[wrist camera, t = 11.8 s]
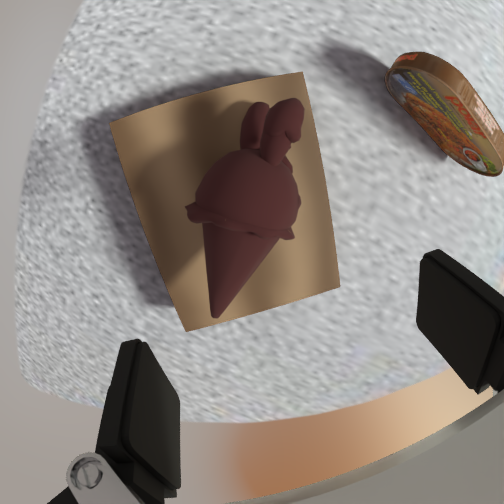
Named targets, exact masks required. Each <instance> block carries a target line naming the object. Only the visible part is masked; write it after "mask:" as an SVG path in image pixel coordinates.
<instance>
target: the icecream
mask: <svg viewBox="0 0 504 504" xmlns="http://www.w3.org/2000/svg"><path fill="white" fill-rule="evenodd" d="M304 112H305V108H304V107H303V105H302V103H301V101H300V100H299V99H297V98H289V99H286V100H282V101H279V102H277V103H276V104H275V105H274V106H272V107H271V108H269V105H268V104H267V103H264V102H255V103H254V104H253V105H251V106H250V107H249V109H248V111H247V113H246V115H245V117H244V119H243V121H242V123H241V133H240V150H237V151H232V152H229V153H228V154H226V155H225V156H223V157H222V158H220V159H219V160H217V161H216V162H215V163H214V164H213V165H212V166H211V168H210V169H209V170H208V171H207V172H206V174H205V175H204V177H203V179H202V181H201V183H200V185H199V186H198V188H197V190H196V192H195V202H193V203H191V204H189V205H187V206H185V208H186V210H187V217H188V219H189V220H190V221H191V222H193V223H196V224H198V223H202V227H203V239H204V250H205V261H206V272H207V282H208V292H209V304H210V312H211V317H212V318H216V319H217V318H219V317H220V316H221V314H222V313H223V312H224V311H225V309H226V308H227V307H228V306H229V304H230V303H231V302H232V300H233V299H234V298H235V296H236V295H237V294H238V293H239V291H240V290H241V289H242V287H243V286H244V285H245V283H246V282H247V281H248V280H249V278H250V277H251V276H252V274H253V273H254V272H255V270H256V269H257V268H258V266H259V265H260V264H261V263H262V261H263V260H264V259H265V257H266V256H267V255H268V253H269V252H270V251H271V249H272V248H273V247H274V246H275V244H276V243H277V242H278V240H279V239H280V238H281V239H284V240H292V239H294V238H295V236H294V233H293V231H292V228H291V226H292V225H293V224H294V223H295V221H296V218H297V214H298V209H299V208H300V206H301V197H300V195H299V193H298V186H297V183H296V181H295V179H294V177H293V175H292V173H293V166H292V165H291V163H290V162H289V160H288V158H287V157H286V153H287V152H288V150H289V149H290V148H291V143H295V142H297V141H299V140H300V138H301V127H302V124H303V120H304Z"/></svg>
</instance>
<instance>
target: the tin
mask: <svg viewBox="0 0 504 504" xmlns="http://www.w3.org/2000/svg"><path fill="white" fill-rule="evenodd" d="M385 84H386V87H387V89H388V91H389V92H390V94H391V95H392V97H393V98H394V99H395V100H396V101H397V102H398V103H399V104H400V105H401V106H402V107H403V108H404V109H405V110H406V111H407V112H408V113H409V114H410V115H411V116H412V117H413V118H414V119H415V120H416V121H417V122H418V124H419V125H420V126H421V127H422V128H423V129H424V130H425V131H426V132H427V133H428V134H429V136H430V137H431V138H432V139H433V140H434V141H435V142H436V143H437V145H438V146H439V147H440V148H441V149H442V150H443V151H444V152H445V153H446V154H447V155H448V156H450V157H451V158H452V159H453V160H455V161H456V162H457V163H459V164H460V165H462V166H464V167H466V168H467V169H469V170H471V171H473V172H476V173H478V174H481V175H485V176H490V177H495V176H498V175H500V174H501V173H502V171H503V166H504V133H503V131H502V130H501V128H500V126H499V125H498V123H497V122H496V120H495V118H494V117H493V115H492V114H491V112H490V111H489V109H488V108H487V106H486V105H485V104H484V102H483V101H482V99H481V98H480V96H479V95H478V94H477V92H476V91H475V89H474V88H473V87H472V85H471V84H470V83H469V81H468V80H467V79H466V78H465V77H464V75H463V74H462V73H461V72H460V71H459V70H457V69H456V68H455V67H454V66H452V65H451V64H450V63H448V62H446V61H445V60H443V59H441V58H439V57H437V56H435V55H432V54H429V53H425V52H409V53H405V54H402V55H400V56H399V57H398V58H397V59H396V61H395V62H394V64H393V65H392V67H391V69H390V70H388V71H387V73H386V75H385Z"/></svg>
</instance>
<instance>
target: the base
mask: <svg viewBox="0 0 504 504" xmlns="http://www.w3.org/2000/svg"><path fill="white" fill-rule="evenodd" d="M289 98H297V99H299V100H300V101H301V103H302V105H303V107H304V108H305V112H304V120H303V124H302V127H301V138H300V140H299V141H297V142H295V143H291V148H290V149H289V150H288V152H287V153H286V157H287V158H288V160H289V162H290V163H291V165H292V166H293V173H292V175H293V177H294V179H295V181H296V183H297V186H298V193H299V195H300V197H301V206H300V208H299V209H298V214H297V218H296V221H295V223H294V224H293V225H292V226H291V228H292V231H293V233H294V236H295V238H294V239H292V240H284V239H281V238H280V239H279V240H278V242H277V243H276V244H275V246H274V247H273V248H272V249H271V251H270V252H269V253H268V255H267V256H266V257H265V259H264V260H263V261H262V263H261V264H260V265H259V266H258V268H257V269H256V270H255V272H254V273H253V274H252V276H251V277H250V278H249V280H248V281H247V282H246V283H245V285H244V286H243V287H242V289H241V290H240V291H239V293H238V294H237V295H236V296H235V298H234V299H233V300H232V302H231V303H230V304H229V306H228V307H227V308H226V309H225V311H224V312H223V313H222V314H221V316H220V317H219V318H217V319H216V318H212V317H211V312H210V304H209V292H208V282H207V272H206V261H205V250H204V239H203V227H202V223H198V224H196V223H193V222H191V221H190V220H189V219H188V217H187V210H186V208H185V206H187V205H189V204H191V203H193V202H195V192H196V190H197V188H198V186H199V185H200V183H201V181H202V179H203V177H204V175H205V174H206V172H207V171H208V170H209V169H210V168H211V166H212V165H213V164H214V163H215V162H216V161H217V160H219V159H220V158H222V157H223V156H225V155H226V154H228V153H229V152H232V151H237V150H240V133H241V123H242V121H243V119H244V117H245V115H246V113H247V111H248V109H249V107H250V106H251V105H253V104H254V103H255V102H264V103H267V104H268V105H269V108H271V107H272V106H274V105H275V104H276V103H277V102H279V101H282V100H286V99H289ZM109 125H110V128H111V132H112V135H113V139H114V142H115V145H116V149H117V152H118V155H119V159H120V162H121V165H122V168H123V171H124V174H125V177H126V180H127V184H128V187H129V189H130V192H131V195H132V198H133V201H134V204H135V207H136V210H137V213H138V215H139V218H140V221H141V224H142V226H143V229H144V232H145V235H146V237H147V240H148V242H149V245H150V248H151V250H152V253H153V255H154V258H155V261H156V263H157V266H158V268H159V271H160V273H161V275H162V278H163V280H164V283H165V285H166V288H167V290H168V292H169V295H170V297H171V299H172V302H173V304H174V306H175V309H176V311H177V313H178V315H179V318H180V320H181V322H182V324H183V327H184V329H185V331H186V332H188V331H192V330H196V329H200V328H204V327H208V326H211V325H215V324H219V323H222V322H226V321H230V320H233V319H237V318H240V317H244V316H247V315H251V314H254V313H258V312H261V311H265V310H268V309H271V308H275V307H278V306H281V305H285V304H288V303H291V302H294V301H298V300H301V299H304V298H307V297H310V296H314V295H317V294H320V293H323V292H326V291H329V290H332V289H335V288H338V287H340V279H339V271H338V262H337V254H336V246H335V239H334V232H333V225H332V218H331V211H330V205H329V199H328V193H327V187H326V181H325V175H324V169H323V164H322V159H321V153H320V148H319V143H318V138H317V133H316V128H315V123H314V119H313V114H312V110H311V105H310V101H309V96H308V92H307V88H306V84H305V79H304V75H303V72H297V73H290V74H284V75H278V76H273V77H267V78H262V79H257V80H252V81H247V82H242V83H238V84H233V85H229V86H225V87H221V88H217V89H213V90H209V91H205V92H201V93H198V94H194V95H190V96H187V97H183V98H180V99H177V100H173V101H170V102H167V103H164V104H161V105H158V106H155V107H152V108H149V109H146V110H143V111H140V112H137V113H134V114H132V115H129V116H126V117H124V118H121V119H118V120H116V121H113V122H111V123H109Z"/></svg>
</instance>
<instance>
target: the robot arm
mask: <svg viewBox="0 0 504 504" xmlns="http://www.w3.org/2000/svg"><path fill="white" fill-rule="evenodd" d="M416 323H417V326H418V328H419V330H420V331H421V332H422V333H423V334H424V335H425V337H426V338H427V339H428V340H429V341H430V342H431V343H432V345H433V346H434V347H435V348H436V349H437V350H438V352H439V353H440V354H441V355H442V356H443V358H444V359H445V360H446V361H447V362H448V364H449V365H450V366H451V367H452V368H453V369H454V371H455V372H456V373H457V374H458V376H459V377H460V378H461V379H462V380H463V382H464V383H465V384H466V386H467V387H468V388H469V389H474V390H475V392H476V393H477V394H479V393H481V392H483V391H484V390H486V389H487V388H488V387H489V386H491V387H492V388H493V397H492V398H491V399H489V400H488V401H486V402H485V403H483V404H482V405H480V406H479V407H478V408H476V409H474V410H473V411H471V412H469V413H468V414H466V415H465V416H463V417H462V418H460V419H458V420H457V421H455V422H453V423H452V424H450V425H448V426H446V427H445V428H443V429H441V430H439V431H437V432H436V433H434V434H432V435H430V436H428V437H426V438H424V439H422V440H420V441H419V442H417V443H415V444H413V445H410V446H409V447H407V448H404V449H402V450H400V451H398V452H396V453H394V454H391V455H389V456H387V457H385V458H382V459H380V460H378V461H375V462H373V463H370V464H368V465H365V466H363V467H360V468H358V469H355V470H352V471H350V472H347V473H344V474H342V475H339V476H336V477H333V478H330V479H327V480H323V481H321V482H317V483H314V484H310V485H307V486H304V487H300V488H296V489H293V490H289V491H285V492H281V493H277V494H273V495H269V496H264V497H259V498H254V499H249V500H243V501H238V502H232V503H226V504H504V297H503V296H502V295H501V294H500V293H499V292H497V291H496V290H495V289H493V288H492V287H491V286H490V285H488V284H487V283H486V282H484V281H483V280H482V279H480V278H479V277H478V276H476V275H475V274H474V273H472V272H471V271H470V270H468V269H467V268H466V267H464V266H463V265H461V264H460V263H459V262H457V261H456V260H454V259H453V258H452V257H450V256H449V255H447V254H446V253H445V252H443V251H442V250H440V249H436V250H433V251H431V252H428V253H425V254H424V256H423V259H422V260H421V261H420V273H419V291H418V305H417V316H416ZM66 480H67V483H68V487H67V488H66V489H64V490H63V491H62V492H61V493H60V494H58V495H57V496H56V497H55V498H53V499H52V500H51V501H50V502H49V503H47V504H164V498H174V497H177V492H176V489H179V488H180V487H181V469H180V400H179V397H178V394H177V393H176V391H175V389H174V388H173V386H172V385H171V383H170V381H169V380H168V378H167V376H166V375H165V373H164V371H163V370H162V368H161V366H160V365H159V363H158V361H157V359H156V358H155V356H154V354H153V352H152V351H151V349H150V347H149V345H148V344H147V343H146V342H142V341H141V340H140V339H134V340H130V341H125V342H122V344H121V346H120V350H119V354H118V357H117V361H116V365H115V369H114V373H113V377H112V381H111V385H110V386H109V389H108V392H107V396H106V401H105V405H104V410H103V414H102V419H101V424H100V429H99V434H98V439H97V444H96V450H95V453H89V452H88V453H84V454H81V455H79V456H78V457H76V458H75V459H74V460H73V461H72V462H71V464H70V465H69V467H68V470H67V473H66Z"/></svg>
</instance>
